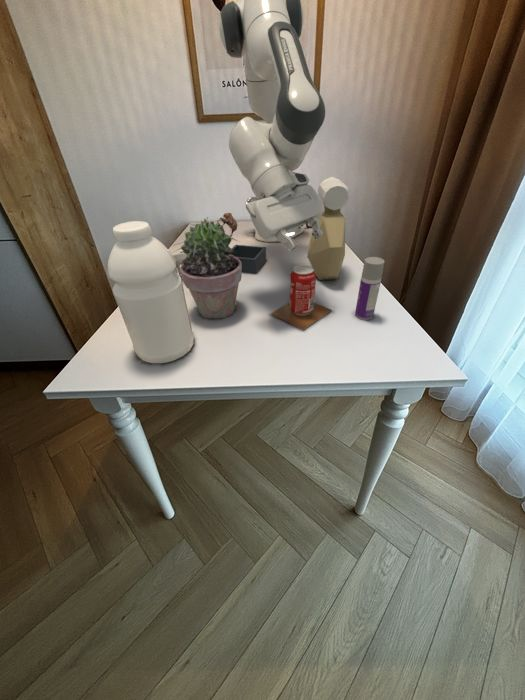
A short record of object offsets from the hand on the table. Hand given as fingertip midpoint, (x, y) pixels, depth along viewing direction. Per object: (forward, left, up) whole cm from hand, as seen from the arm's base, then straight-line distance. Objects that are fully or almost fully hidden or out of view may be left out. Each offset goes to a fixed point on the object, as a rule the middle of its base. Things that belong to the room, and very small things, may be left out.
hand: (307, 242), depth 71 cm
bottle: (+33, -16, -19) cm, 41 cm away
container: (-10, +12, -19) cm, 25 cm away
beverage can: (0, -1, -19) cm, 19 cm away
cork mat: (0, -1, -19) cm, 19 cm away
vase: (-25, -11, -19) cm, 33 cm away
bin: (-12, -36, -19) cm, 42 cm away
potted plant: (+15, -20, -19) cm, 31 cm away
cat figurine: (+7, -42, -19) cm, 47 cm away
